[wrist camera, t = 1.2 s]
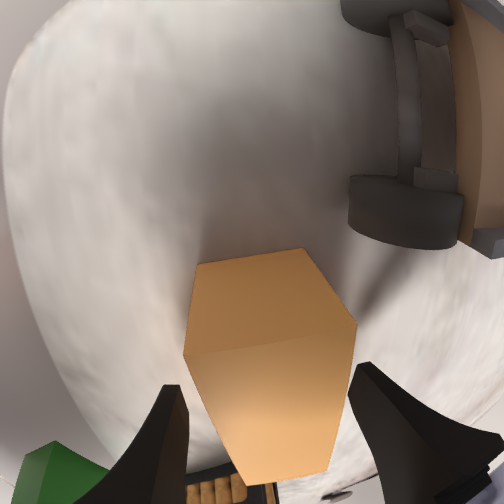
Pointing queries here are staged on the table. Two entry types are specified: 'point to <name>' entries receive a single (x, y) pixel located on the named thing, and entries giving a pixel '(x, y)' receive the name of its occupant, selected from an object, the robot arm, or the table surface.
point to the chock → (270, 361)
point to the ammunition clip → (227, 488)
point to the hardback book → (55, 476)
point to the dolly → (467, 129)
